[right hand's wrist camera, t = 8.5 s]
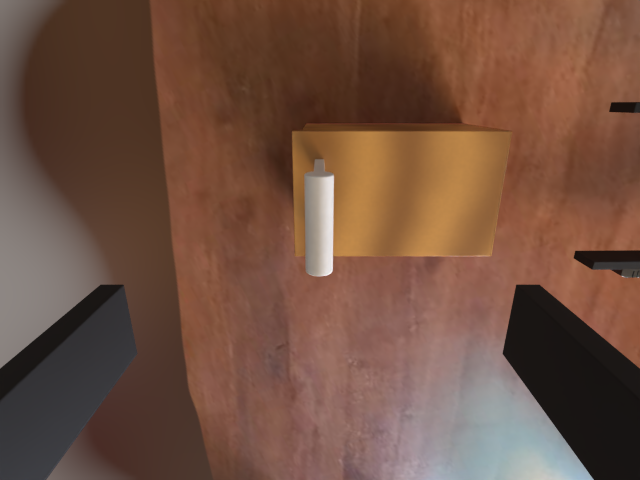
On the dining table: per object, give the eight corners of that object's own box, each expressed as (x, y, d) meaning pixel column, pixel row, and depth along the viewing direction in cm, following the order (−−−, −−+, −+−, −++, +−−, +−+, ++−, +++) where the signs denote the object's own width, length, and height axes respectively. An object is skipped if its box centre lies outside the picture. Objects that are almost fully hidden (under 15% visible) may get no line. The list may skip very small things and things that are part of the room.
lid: (295, 251, 32) (286, 303, 24) (292, 130, 29) (281, 141, 20) (485, 251, 32) (543, 303, 24) (505, 129, 29) (581, 141, 20)
